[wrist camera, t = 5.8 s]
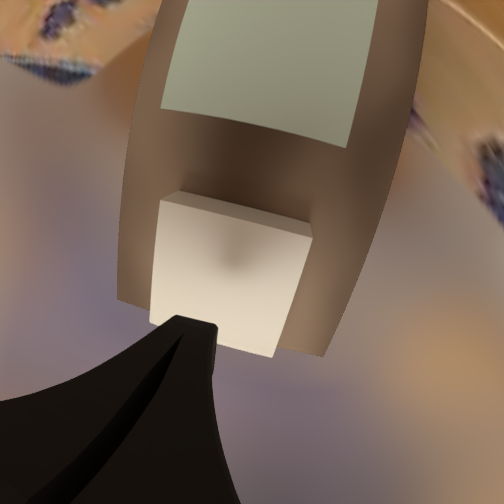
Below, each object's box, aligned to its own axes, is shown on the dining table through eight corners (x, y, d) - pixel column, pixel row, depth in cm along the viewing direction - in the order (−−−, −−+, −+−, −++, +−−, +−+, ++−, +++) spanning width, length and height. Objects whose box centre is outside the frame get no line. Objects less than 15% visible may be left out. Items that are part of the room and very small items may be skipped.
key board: (419, -68, 7) (429, -82, 5) (321, 335, 18) (323, 356, 16) (227, -106, 8) (220, -122, 6) (132, 283, 18) (117, 299, 16)
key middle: (367, 9, 8) (379, -11, 6) (336, 145, 10) (345, 148, 9) (217, -19, 8) (203, -41, 6) (181, 111, 11) (160, 108, 9)
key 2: (310, 223, 13) (312, 238, 11) (275, 332, 15) (272, 357, 13) (178, 190, 13) (160, 199, 11) (164, 301, 16) (149, 322, 14)
